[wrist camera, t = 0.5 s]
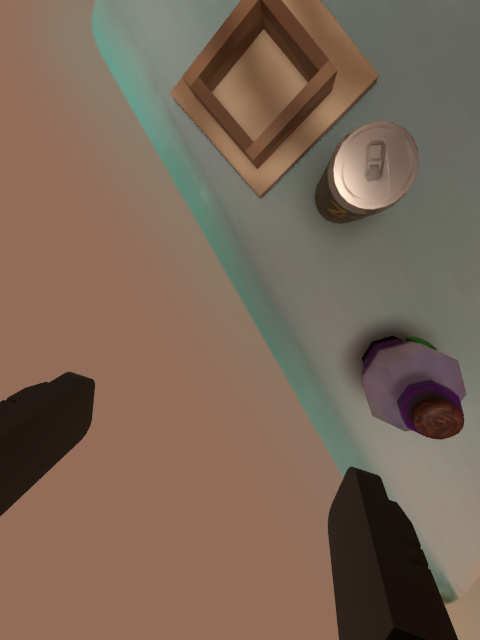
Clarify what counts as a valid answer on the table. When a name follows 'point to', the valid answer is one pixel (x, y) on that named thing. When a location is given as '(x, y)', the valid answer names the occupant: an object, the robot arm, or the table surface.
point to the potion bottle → (414, 387)
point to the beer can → (367, 172)
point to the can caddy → (273, 85)
